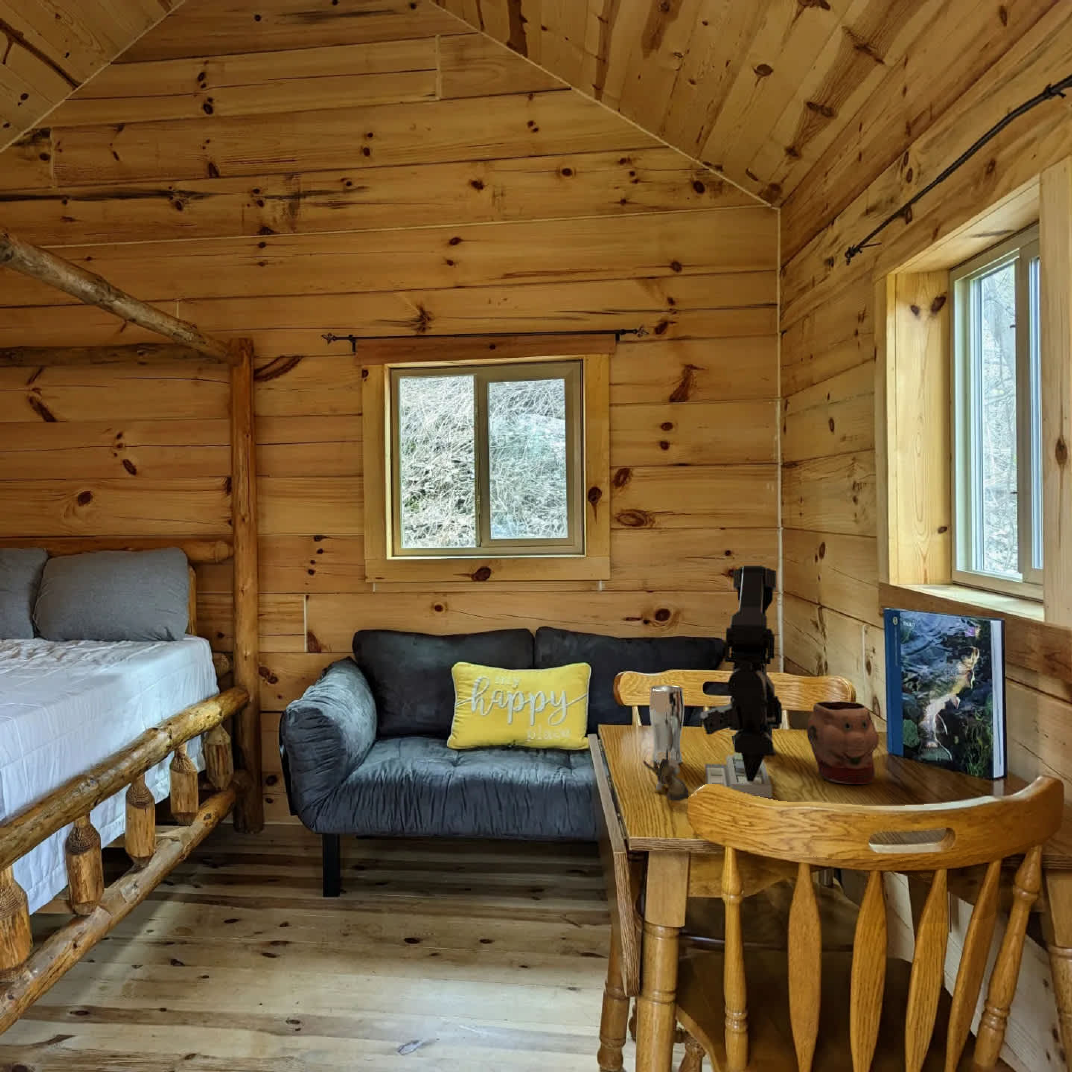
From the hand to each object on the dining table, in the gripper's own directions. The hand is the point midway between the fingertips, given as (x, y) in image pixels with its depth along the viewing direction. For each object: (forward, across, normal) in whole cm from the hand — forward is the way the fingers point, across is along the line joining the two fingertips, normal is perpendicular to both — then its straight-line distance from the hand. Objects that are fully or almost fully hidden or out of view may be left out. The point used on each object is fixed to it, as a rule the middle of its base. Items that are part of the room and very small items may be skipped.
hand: (750, 780), depth 136 cm
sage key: (0, -11, 0) cm, 11 cm away
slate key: (0, -5, 0) cm, 6 cm away
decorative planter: (+3, -15, +18) cm, 24 cm away
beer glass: (+3, -19, -15) cm, 24 cm away
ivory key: (+2, 0, 0) cm, 2 cm away
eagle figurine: (+3, 0, -15) cm, 15 cm away
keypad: (+3, -5, -2) cm, 6 cm away
